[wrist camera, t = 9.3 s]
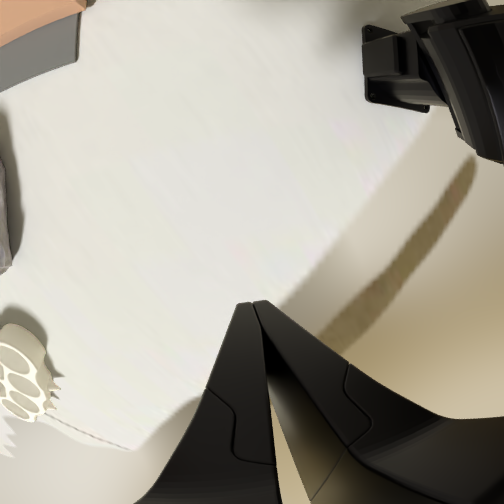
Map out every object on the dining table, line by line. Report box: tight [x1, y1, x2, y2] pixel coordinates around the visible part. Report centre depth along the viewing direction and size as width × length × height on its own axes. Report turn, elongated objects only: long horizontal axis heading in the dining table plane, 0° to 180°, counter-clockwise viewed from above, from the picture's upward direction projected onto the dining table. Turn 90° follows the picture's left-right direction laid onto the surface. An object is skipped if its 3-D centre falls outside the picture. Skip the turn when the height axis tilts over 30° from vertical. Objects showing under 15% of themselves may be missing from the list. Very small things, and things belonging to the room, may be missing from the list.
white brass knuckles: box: [0, 323, 61, 422], centre depth 22 cm, size 3×18×15 cm
